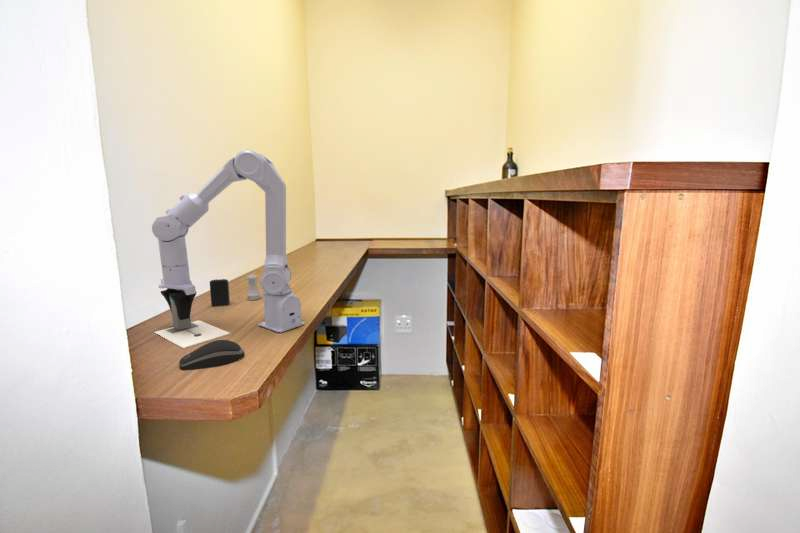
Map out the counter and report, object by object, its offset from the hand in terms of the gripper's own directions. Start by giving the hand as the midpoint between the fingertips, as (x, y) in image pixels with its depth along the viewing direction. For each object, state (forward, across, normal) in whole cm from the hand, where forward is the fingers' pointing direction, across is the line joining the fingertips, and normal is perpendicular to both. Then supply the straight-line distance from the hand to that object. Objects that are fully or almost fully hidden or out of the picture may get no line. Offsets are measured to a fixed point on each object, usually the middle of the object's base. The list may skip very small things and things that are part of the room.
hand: (181, 317), depth 96 cm
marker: (+3, 0, 0) cm, 3 cm away
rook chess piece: (+3, -11, +27) cm, 29 cm away
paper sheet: (+3, +5, 0) cm, 6 cm away
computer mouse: (+4, +24, -4) cm, 25 cm away
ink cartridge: (+3, -13, +17) cm, 22 cm away
